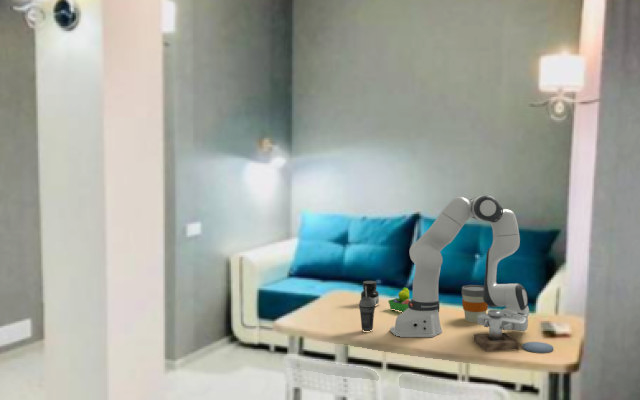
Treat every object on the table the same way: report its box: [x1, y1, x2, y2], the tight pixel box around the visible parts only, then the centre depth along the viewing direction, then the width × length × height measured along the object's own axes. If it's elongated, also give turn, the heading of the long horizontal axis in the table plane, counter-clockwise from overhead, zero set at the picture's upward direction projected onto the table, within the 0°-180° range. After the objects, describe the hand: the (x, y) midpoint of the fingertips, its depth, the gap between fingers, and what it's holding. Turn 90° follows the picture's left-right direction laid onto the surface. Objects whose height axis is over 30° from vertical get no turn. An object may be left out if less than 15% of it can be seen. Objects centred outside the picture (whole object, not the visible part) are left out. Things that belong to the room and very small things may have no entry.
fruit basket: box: [387, 287, 410, 312], centre depth 346 cm, size 11×9×11 cm
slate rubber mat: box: [521, 341, 554, 354], centre depth 285 cm, size 12×12×1 cm
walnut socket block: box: [472, 332, 519, 352], centre depth 289 cm, size 14×14×3 cm
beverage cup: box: [358, 286, 376, 331], centre depth 311 cm, size 7×7×20 cm
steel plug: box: [487, 309, 503, 341], centre depth 289 cm, size 6×6×14 cm
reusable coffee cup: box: [461, 284, 489, 323], centre depth 328 cm, size 13×13×15 cm
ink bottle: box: [360, 280, 380, 305], centre depth 357 cm, size 10×9×12 cm
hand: (494, 326), depth 288 cm, fingers open, 6 cm apart
